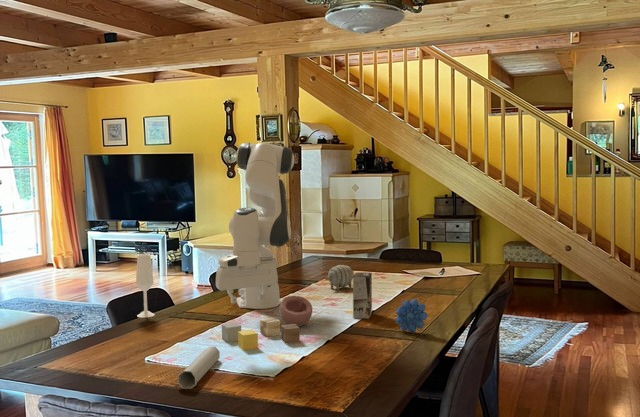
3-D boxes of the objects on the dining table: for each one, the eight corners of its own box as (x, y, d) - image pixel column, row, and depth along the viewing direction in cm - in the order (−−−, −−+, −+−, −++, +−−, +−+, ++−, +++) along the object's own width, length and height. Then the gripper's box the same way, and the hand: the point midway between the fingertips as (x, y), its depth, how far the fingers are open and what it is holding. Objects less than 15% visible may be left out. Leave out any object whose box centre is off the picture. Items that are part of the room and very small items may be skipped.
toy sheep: (360, 287, 296) (360, 264, 295) (335, 293, 285) (335, 268, 284) (344, 284, 304) (344, 261, 303) (319, 289, 292) (318, 266, 291)
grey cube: (222, 338, 216) (221, 324, 215) (235, 336, 218) (235, 322, 218) (227, 342, 212) (227, 327, 211) (241, 340, 214) (241, 325, 214)
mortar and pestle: (287, 332, 223) (287, 300, 222) (274, 324, 233) (273, 293, 232) (318, 327, 228) (317, 296, 227) (303, 320, 239) (303, 290, 238)
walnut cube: (281, 339, 214) (281, 325, 214) (295, 338, 216) (295, 323, 215) (285, 343, 209) (284, 329, 209) (299, 342, 211) (299, 327, 210)
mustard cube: (238, 346, 207) (237, 331, 207) (252, 344, 209) (252, 329, 209) (243, 350, 203) (242, 335, 202) (257, 348, 205) (257, 333, 204)
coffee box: (369, 318, 240) (369, 276, 239) (352, 318, 241) (352, 276, 240) (372, 312, 249) (372, 272, 247) (356, 312, 250) (355, 271, 249)
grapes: (431, 331, 222) (431, 297, 221) (425, 336, 216) (425, 301, 215) (399, 327, 227) (399, 294, 226) (393, 332, 221) (393, 298, 220)
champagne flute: (158, 314, 250) (156, 254, 248) (146, 318, 244) (144, 256, 242) (144, 312, 253) (142, 253, 251) (133, 316, 247) (131, 255, 245)
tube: (203, 346, 195) (174, 373, 170) (218, 341, 194) (192, 368, 169) (208, 362, 195) (181, 392, 170) (224, 357, 194) (199, 386, 169)
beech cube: (260, 333, 222) (260, 319, 221) (272, 331, 225) (272, 317, 224) (267, 337, 218) (267, 322, 217) (280, 334, 220) (279, 320, 220)
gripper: (273, 255, 211) (274, 296, 212) (213, 259, 202) (214, 302, 203) (280, 257, 205) (281, 299, 206) (219, 262, 196) (220, 306, 197)
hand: (247, 301), depth 204 cm, fingers open, 8 cm apart
